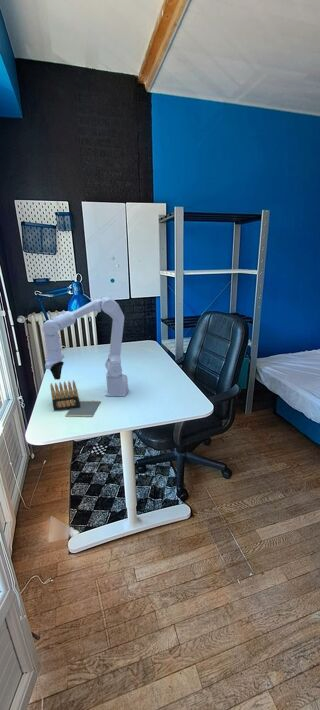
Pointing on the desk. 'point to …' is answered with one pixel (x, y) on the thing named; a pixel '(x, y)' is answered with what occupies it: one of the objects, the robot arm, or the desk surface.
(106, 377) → the robot arm
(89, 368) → the desk surface
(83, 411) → the mat
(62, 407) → the ammunition clip
